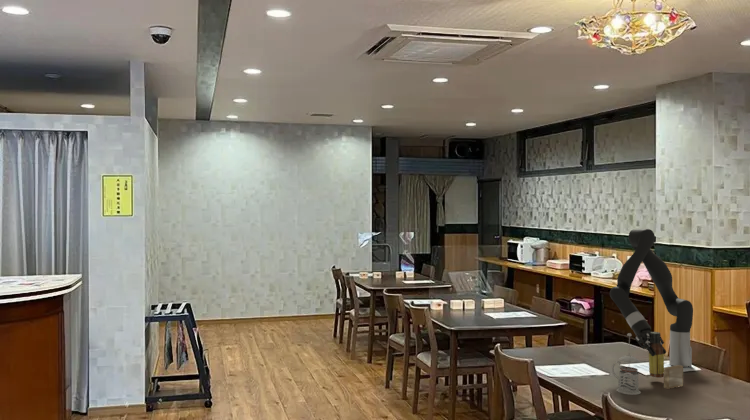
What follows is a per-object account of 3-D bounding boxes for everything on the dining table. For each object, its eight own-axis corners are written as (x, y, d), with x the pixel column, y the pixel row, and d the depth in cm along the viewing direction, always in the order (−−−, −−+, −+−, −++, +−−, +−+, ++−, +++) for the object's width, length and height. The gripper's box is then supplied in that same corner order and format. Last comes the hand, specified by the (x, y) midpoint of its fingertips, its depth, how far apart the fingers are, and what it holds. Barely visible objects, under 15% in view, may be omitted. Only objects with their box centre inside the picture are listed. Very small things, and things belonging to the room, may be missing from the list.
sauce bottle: (663, 375, 294) (663, 331, 293) (664, 378, 288) (665, 334, 287) (647, 373, 296) (648, 330, 295) (648, 377, 290) (649, 333, 289)
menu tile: (663, 387, 282) (664, 367, 282) (678, 385, 287) (679, 365, 287) (668, 389, 280) (668, 368, 280) (683, 386, 285) (683, 366, 285)
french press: (638, 396, 269) (639, 336, 269) (609, 391, 275) (610, 333, 275) (642, 390, 278) (643, 332, 277) (614, 386, 284) (615, 329, 283)
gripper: (632, 320, 295) (653, 351, 284) (653, 317, 301) (675, 348, 291) (622, 329, 299) (643, 360, 289) (644, 326, 306) (665, 357, 296)
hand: (659, 354), depth 290 cm, fingers closed on sauce bottle, 6 cm apart
